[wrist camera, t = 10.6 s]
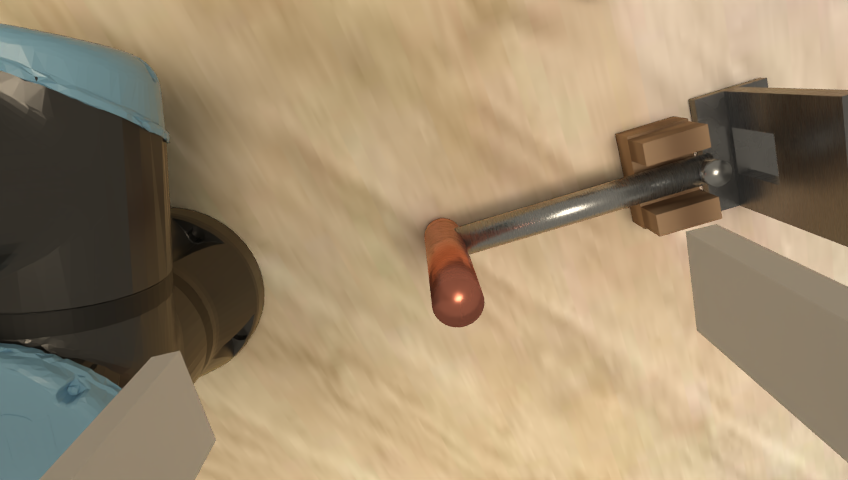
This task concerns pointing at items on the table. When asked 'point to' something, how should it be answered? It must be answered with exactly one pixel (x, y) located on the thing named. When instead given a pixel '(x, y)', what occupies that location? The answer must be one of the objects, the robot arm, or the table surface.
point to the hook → (544, 228)
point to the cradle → (662, 148)
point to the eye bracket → (781, 153)
